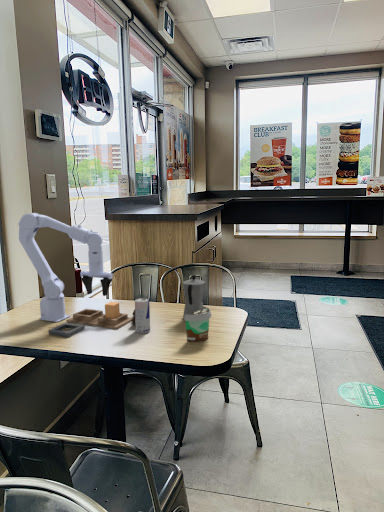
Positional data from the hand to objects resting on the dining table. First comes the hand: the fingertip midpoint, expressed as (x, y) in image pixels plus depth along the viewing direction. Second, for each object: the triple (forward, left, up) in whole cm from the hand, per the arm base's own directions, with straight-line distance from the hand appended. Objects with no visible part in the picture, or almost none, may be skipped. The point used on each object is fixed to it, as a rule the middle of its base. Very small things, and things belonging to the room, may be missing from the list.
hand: (97, 294), depth 160 cm
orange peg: (+11, -5, -9) cm, 14 cm away
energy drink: (+27, -9, -10) cm, 30 cm away
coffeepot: (+39, +11, -10) cm, 41 cm away
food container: (+50, -8, -10) cm, 51 cm away
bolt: (+19, +1, -10) cm, 21 cm away
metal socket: (+1, -20, -9) cm, 22 cm away
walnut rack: (+5, -5, -9) cm, 11 cm away
